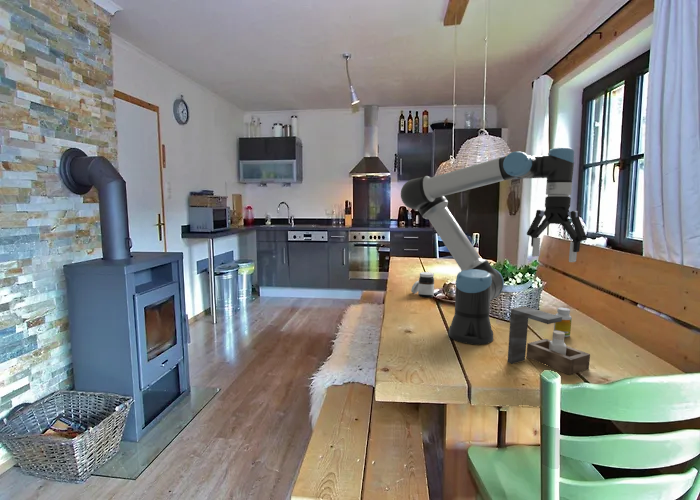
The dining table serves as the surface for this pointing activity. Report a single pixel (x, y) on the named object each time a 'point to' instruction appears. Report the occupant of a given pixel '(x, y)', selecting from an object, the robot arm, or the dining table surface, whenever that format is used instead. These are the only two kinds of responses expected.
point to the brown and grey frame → (541, 343)
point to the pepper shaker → (558, 343)
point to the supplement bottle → (563, 321)
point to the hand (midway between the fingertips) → (553, 258)
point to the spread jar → (424, 285)
